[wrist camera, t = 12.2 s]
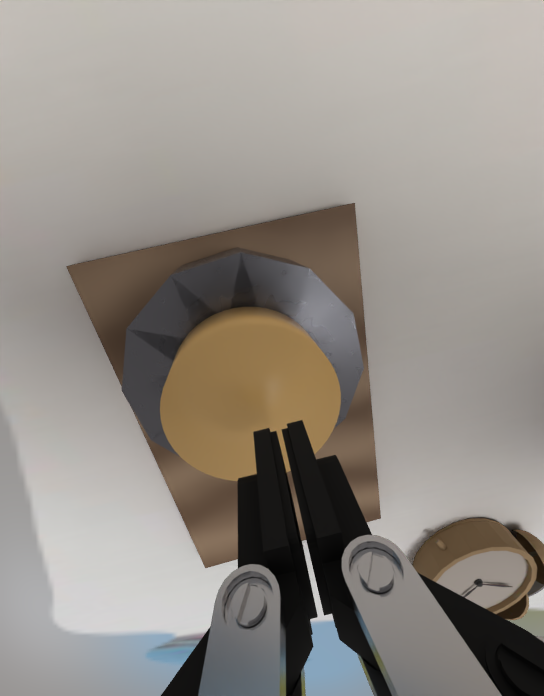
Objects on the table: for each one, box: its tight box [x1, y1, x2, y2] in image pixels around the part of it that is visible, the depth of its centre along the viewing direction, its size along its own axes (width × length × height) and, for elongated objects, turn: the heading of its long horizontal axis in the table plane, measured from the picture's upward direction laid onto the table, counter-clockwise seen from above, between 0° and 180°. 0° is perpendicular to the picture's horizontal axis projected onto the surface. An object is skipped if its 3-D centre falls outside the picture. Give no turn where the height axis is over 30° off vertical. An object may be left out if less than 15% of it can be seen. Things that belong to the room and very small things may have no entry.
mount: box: [66, 203, 381, 568], centre depth 22 cm, size 26×16×1 cm, turn 11°
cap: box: [160, 307, 341, 481], centre depth 16 cm, size 8×8×7 cm
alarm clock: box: [412, 518, 544, 620], centre depth 32 cm, size 11×5×15 cm
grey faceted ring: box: [122, 247, 364, 457], centre depth 17 cm, size 12×12×4 cm
